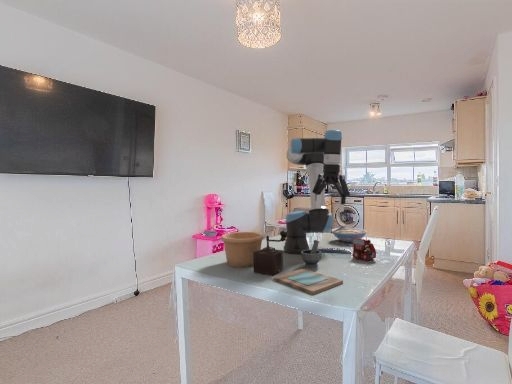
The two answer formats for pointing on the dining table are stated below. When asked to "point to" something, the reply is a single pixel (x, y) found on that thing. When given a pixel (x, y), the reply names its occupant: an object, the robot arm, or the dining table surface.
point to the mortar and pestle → (311, 256)
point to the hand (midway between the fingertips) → (329, 209)
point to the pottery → (241, 247)
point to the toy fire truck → (363, 249)
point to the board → (308, 281)
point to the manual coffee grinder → (269, 258)
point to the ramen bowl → (348, 233)
